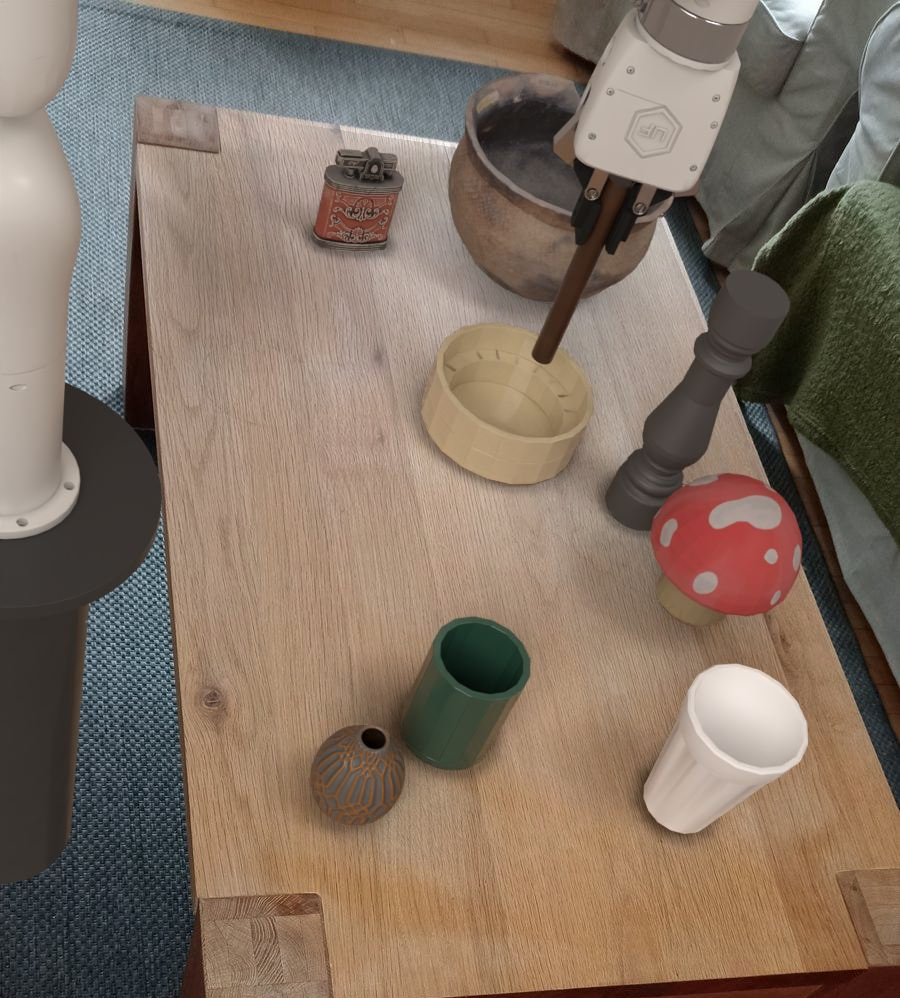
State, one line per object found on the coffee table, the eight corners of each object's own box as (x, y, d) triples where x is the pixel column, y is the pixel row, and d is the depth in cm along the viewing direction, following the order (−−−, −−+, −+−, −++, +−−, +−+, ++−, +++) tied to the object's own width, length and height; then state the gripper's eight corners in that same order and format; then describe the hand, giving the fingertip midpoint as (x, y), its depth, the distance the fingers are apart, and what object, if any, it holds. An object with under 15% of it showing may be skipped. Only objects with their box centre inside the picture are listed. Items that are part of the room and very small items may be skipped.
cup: (690, 879, 105) (768, 798, 94) (597, 796, 106) (663, 707, 96) (752, 809, 110) (832, 725, 100) (662, 731, 112) (732, 640, 101)
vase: (284, 803, 98) (307, 740, 91) (335, 745, 102) (360, 680, 95) (359, 856, 97) (388, 797, 90) (408, 795, 101) (438, 734, 94)
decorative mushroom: (641, 675, 114) (718, 565, 102) (594, 556, 120) (661, 438, 108) (769, 667, 119) (857, 561, 107) (718, 553, 125) (796, 439, 113)
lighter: (381, 231, 135) (405, 143, 127) (390, 253, 134) (415, 166, 126) (306, 227, 132) (326, 137, 124) (315, 250, 131) (335, 160, 123)
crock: (397, 761, 103) (431, 689, 94) (402, 683, 107) (435, 607, 98) (489, 777, 104) (530, 708, 96) (490, 700, 108) (530, 627, 100)
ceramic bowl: (650, 275, 145) (710, 153, 133) (574, 375, 133) (633, 250, 120) (480, 174, 145) (524, 42, 133) (388, 263, 133) (427, 128, 121)
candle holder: (677, 515, 126) (807, 306, 106) (637, 540, 123) (764, 330, 102) (632, 473, 127) (752, 258, 107) (592, 496, 124) (708, 280, 104)
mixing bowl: (416, 467, 120) (434, 419, 115) (422, 355, 128) (439, 306, 123) (572, 503, 123) (596, 458, 118) (569, 392, 131) (591, 346, 126)
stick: (531, 361, 117) (609, 183, 102) (531, 346, 118) (608, 168, 103) (552, 367, 117) (632, 190, 103) (551, 352, 118) (631, 175, 104)
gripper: (588, 11, 89) (502, 241, 104) (798, 82, 92) (685, 294, 107) (585, -45, 93) (502, 185, 108) (786, 25, 96) (679, 237, 111)
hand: (594, 238), depth 107 cm, fingers closed on stick, 2 cm apart
